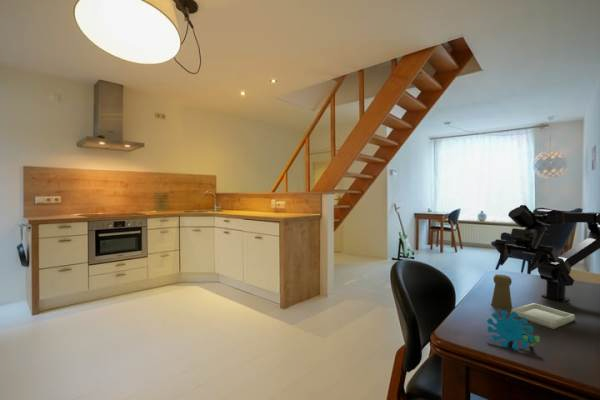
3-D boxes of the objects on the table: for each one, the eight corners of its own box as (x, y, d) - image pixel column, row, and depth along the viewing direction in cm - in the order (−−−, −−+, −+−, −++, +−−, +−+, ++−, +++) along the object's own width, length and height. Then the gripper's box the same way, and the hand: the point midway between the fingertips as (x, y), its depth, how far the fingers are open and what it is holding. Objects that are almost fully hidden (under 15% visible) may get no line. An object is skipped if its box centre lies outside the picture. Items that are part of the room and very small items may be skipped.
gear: (480, 334, 77) (493, 303, 81) (482, 344, 80) (495, 313, 84) (533, 358, 69) (544, 321, 73) (532, 367, 72) (543, 332, 76)
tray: (533, 308, 101) (533, 302, 101) (574, 320, 91) (574, 314, 91) (511, 315, 94) (511, 309, 94) (552, 329, 85) (553, 323, 85)
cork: (515, 310, 98) (517, 278, 98) (495, 309, 99) (496, 276, 99) (506, 304, 104) (508, 273, 104) (488, 302, 105) (489, 272, 105)
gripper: (497, 218, 115) (479, 248, 111) (555, 223, 99) (537, 258, 94) (507, 237, 119) (490, 267, 114) (565, 245, 103) (548, 279, 98)
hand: (514, 267), depth 105 cm, fingers open, 9 cm apart
